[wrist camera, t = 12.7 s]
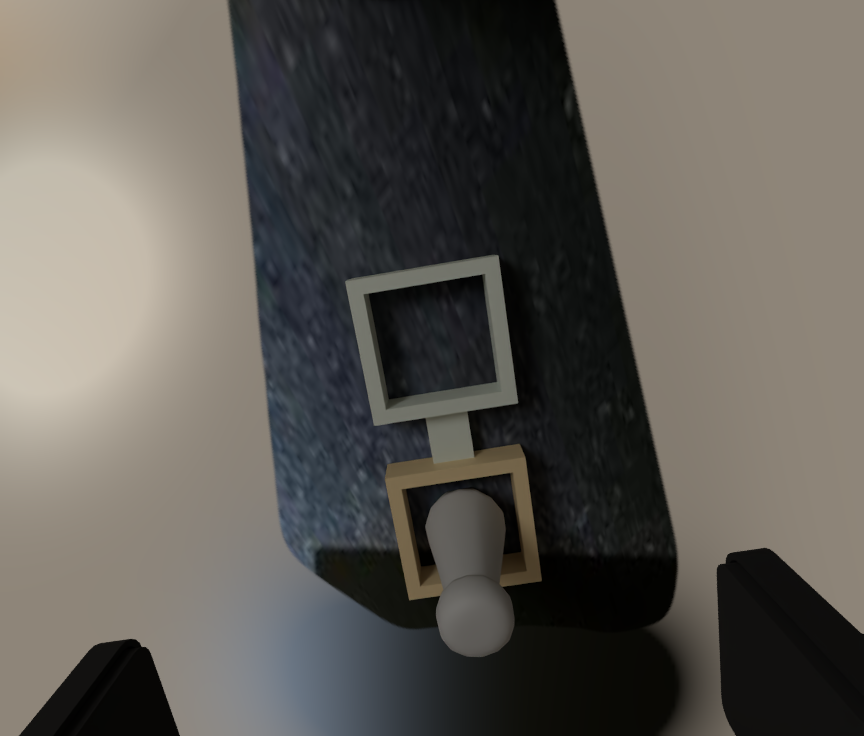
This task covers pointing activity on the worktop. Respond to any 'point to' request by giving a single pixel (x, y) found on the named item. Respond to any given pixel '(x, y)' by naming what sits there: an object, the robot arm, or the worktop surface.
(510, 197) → the worktop surface
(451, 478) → the sockets
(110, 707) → the robot arm
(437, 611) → the salt shaker
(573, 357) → the worktop surface
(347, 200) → the worktop surface
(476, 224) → the worktop surface
